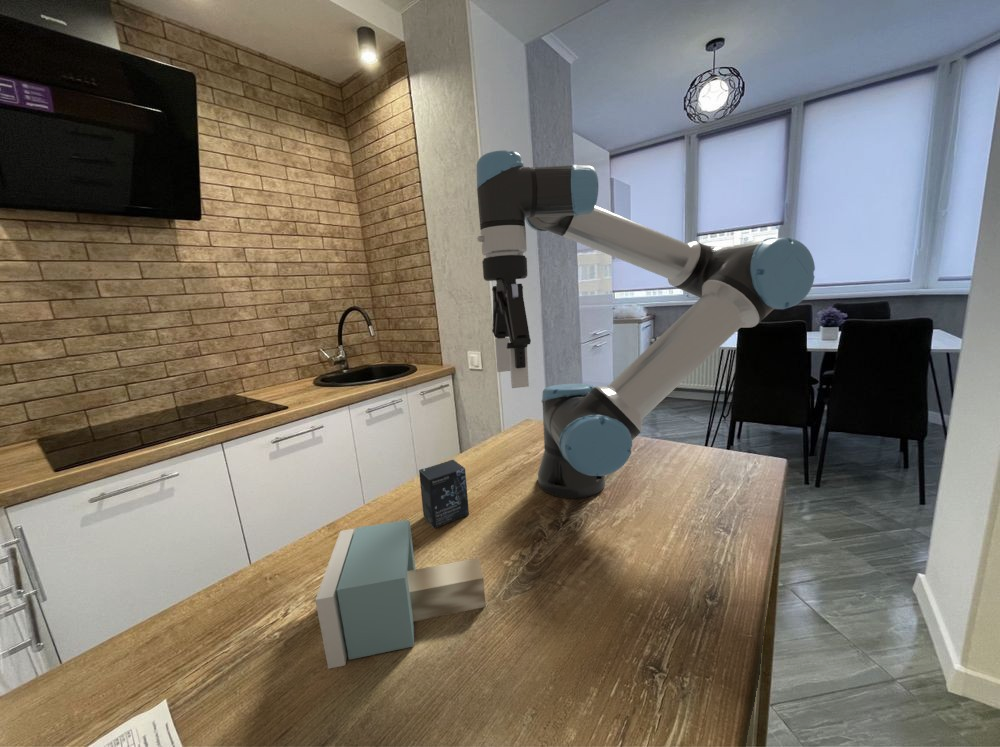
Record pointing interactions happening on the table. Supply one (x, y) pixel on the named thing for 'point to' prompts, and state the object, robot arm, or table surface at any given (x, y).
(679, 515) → the table surface
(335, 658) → the wall
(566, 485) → the robot arm
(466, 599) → the rectangular bar
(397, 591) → the block
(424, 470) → the box
